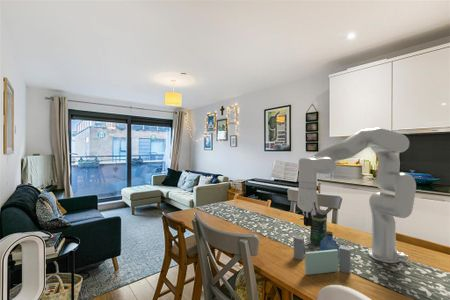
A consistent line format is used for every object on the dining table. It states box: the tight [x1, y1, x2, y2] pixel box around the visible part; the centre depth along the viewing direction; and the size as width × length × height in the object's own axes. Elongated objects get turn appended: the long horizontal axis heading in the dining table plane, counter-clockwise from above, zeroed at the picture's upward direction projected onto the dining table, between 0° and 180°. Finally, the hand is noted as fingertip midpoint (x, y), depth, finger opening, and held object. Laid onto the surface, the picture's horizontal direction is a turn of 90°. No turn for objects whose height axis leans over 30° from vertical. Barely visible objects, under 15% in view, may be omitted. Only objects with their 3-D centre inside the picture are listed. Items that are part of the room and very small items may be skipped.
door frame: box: [293, 235, 352, 274], centre depth 102 cm, size 24×3×10 cm, turn 55°
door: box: [304, 249, 339, 276], centre depth 95 cm, size 15×1×9 cm, turn 100°
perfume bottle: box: [319, 230, 340, 260], centre depth 109 cm, size 6×6×12 cm
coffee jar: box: [309, 208, 328, 246], centre depth 125 cm, size 10×8×19 cm
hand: (307, 225), depth 99 cm, fingers closed
